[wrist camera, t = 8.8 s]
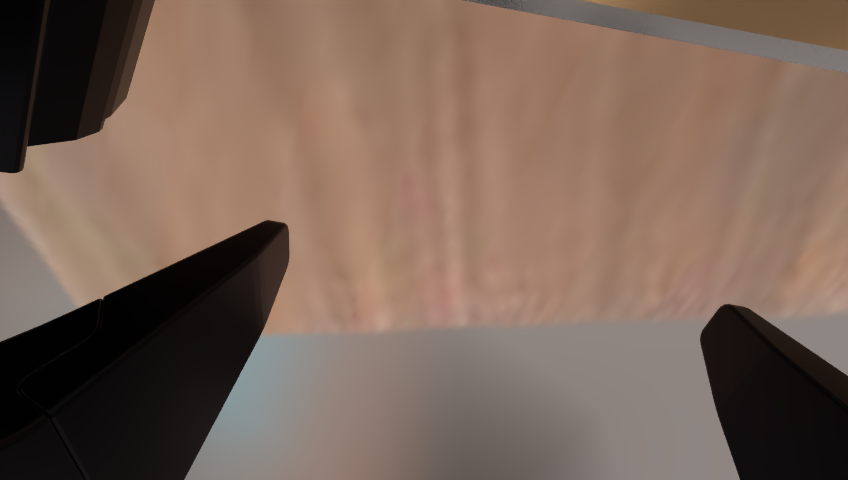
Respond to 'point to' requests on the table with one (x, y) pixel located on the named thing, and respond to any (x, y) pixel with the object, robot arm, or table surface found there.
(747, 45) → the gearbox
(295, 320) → the table surface
